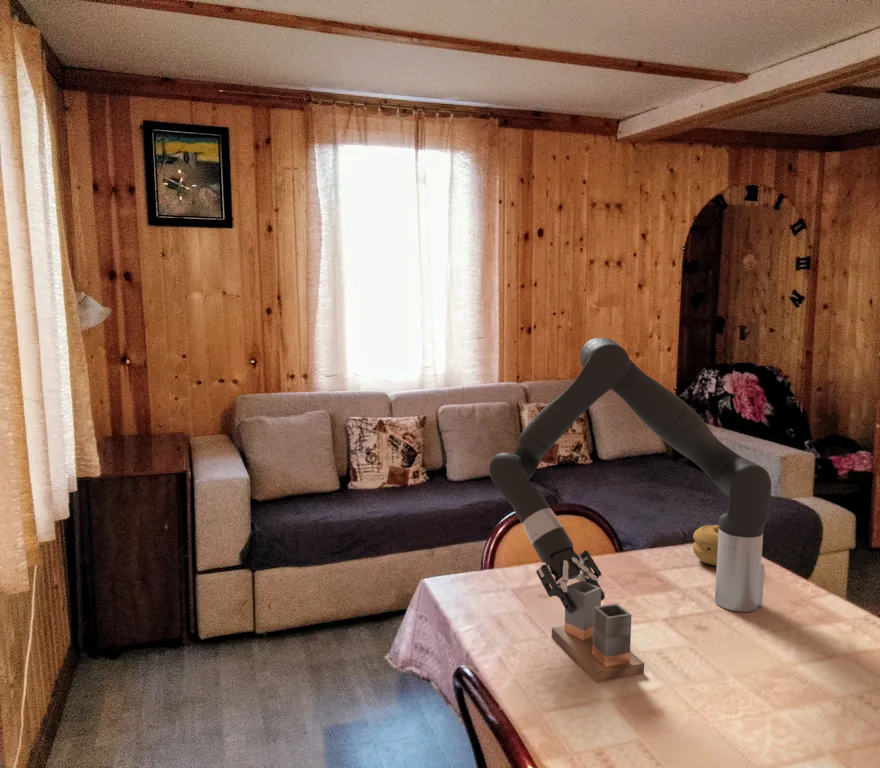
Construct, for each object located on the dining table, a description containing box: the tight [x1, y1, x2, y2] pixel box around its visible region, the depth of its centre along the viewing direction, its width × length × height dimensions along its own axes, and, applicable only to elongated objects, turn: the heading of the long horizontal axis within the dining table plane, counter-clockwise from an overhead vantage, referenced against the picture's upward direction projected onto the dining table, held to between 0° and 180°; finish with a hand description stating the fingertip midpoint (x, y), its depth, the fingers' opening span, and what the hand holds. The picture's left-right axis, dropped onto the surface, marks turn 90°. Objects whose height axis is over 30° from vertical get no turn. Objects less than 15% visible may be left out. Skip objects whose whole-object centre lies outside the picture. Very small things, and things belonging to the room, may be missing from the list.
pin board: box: [551, 603, 645, 683], centre depth 143 cm, size 10×18×12 cm, turn 18°
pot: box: [692, 524, 719, 567], centre depth 189 cm, size 12×12×10 cm
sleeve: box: [564, 580, 602, 640], centre depth 148 cm, size 5×5×10 cm
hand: (588, 605), depth 146 cm, fingers open, 8 cm apart
